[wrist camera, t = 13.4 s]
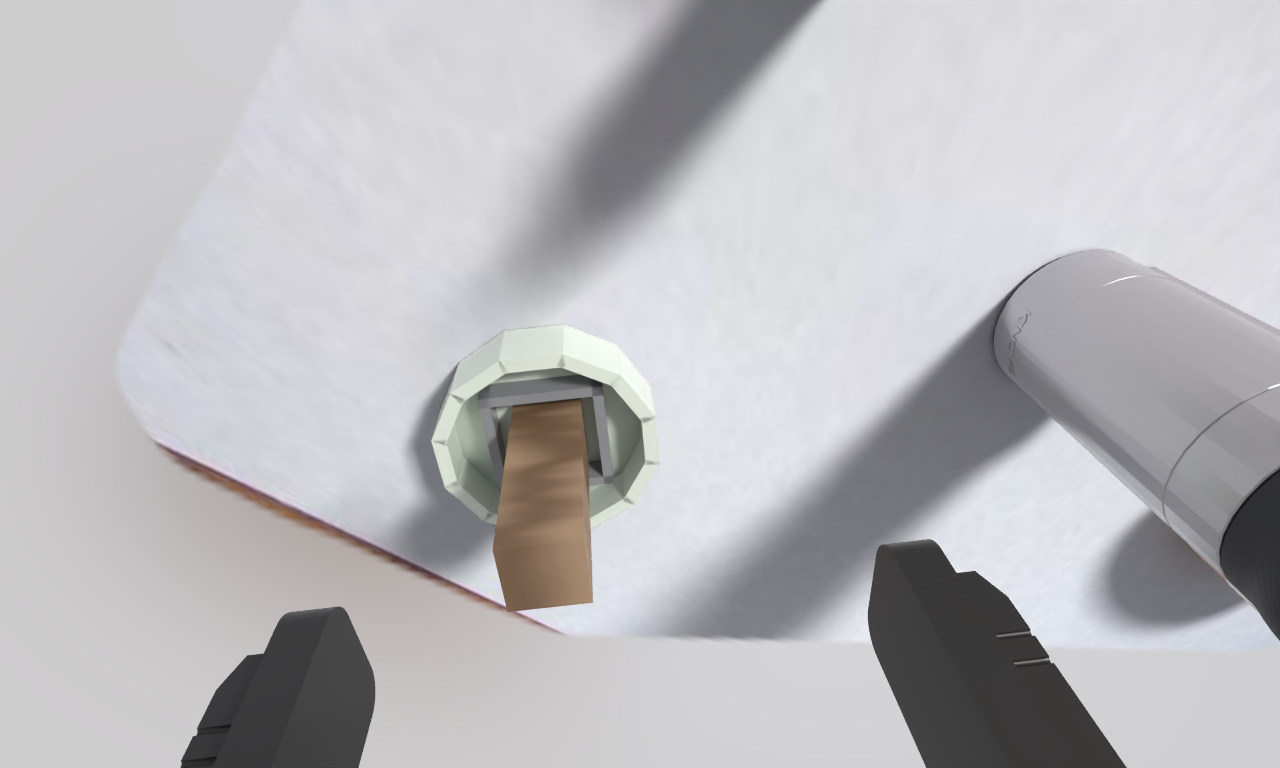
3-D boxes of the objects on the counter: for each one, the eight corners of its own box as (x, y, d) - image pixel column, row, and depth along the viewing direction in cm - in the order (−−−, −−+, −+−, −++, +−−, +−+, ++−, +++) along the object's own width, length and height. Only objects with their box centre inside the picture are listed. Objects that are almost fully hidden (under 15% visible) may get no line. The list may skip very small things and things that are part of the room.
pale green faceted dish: (644, 315, 39) (650, 344, 36) (657, 486, 46) (663, 522, 43) (422, 339, 39) (410, 370, 36) (468, 507, 45) (461, 545, 42)
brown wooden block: (581, 395, 40) (583, 540, 30) (587, 449, 42) (592, 602, 32) (513, 402, 40) (492, 550, 30) (523, 456, 42) (507, 612, 32)
